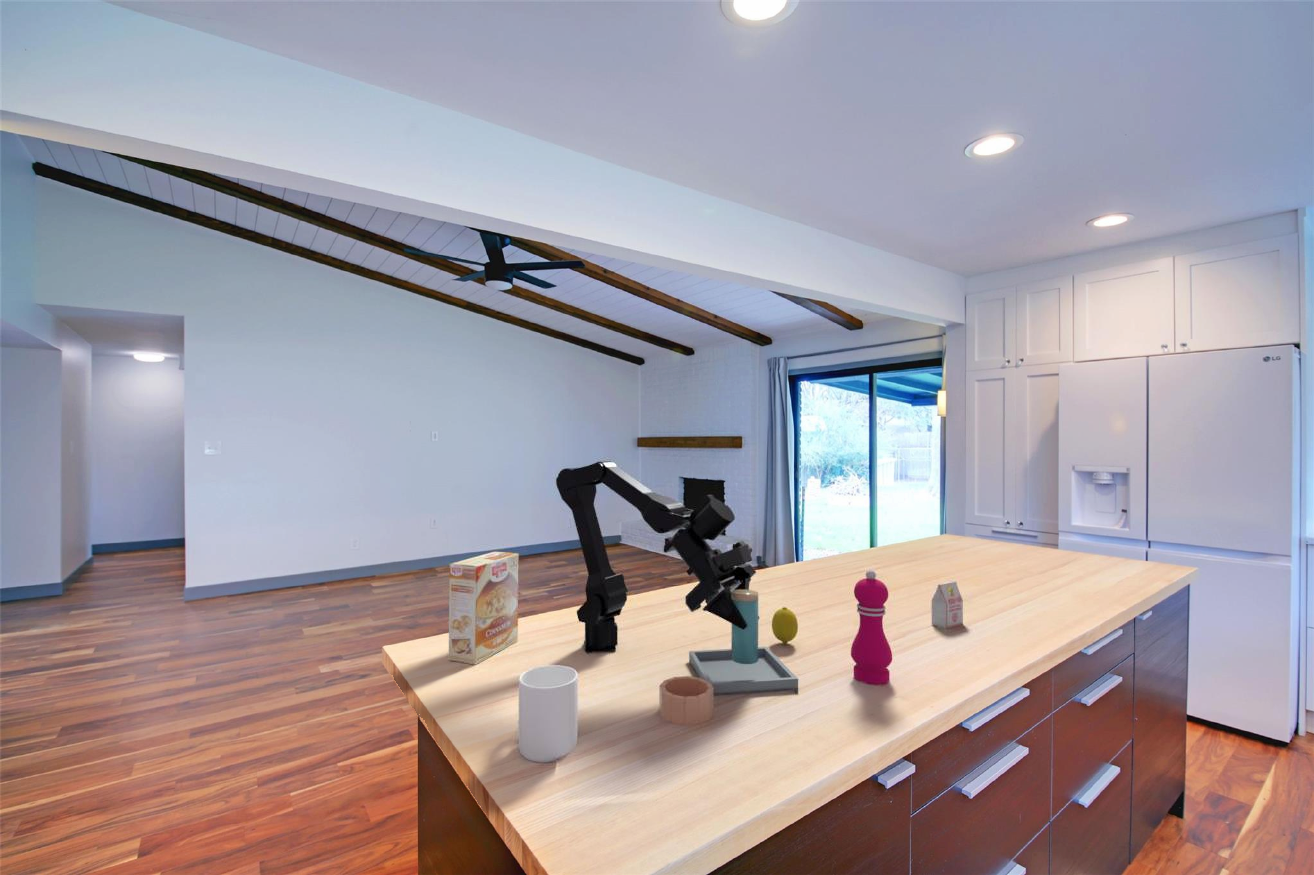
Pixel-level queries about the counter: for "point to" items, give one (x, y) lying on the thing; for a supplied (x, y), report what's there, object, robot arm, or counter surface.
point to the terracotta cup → (686, 700)
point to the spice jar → (745, 639)
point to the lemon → (784, 625)
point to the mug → (548, 712)
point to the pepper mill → (871, 632)
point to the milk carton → (947, 606)
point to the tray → (742, 672)
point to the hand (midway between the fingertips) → (751, 624)
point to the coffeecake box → (483, 606)
